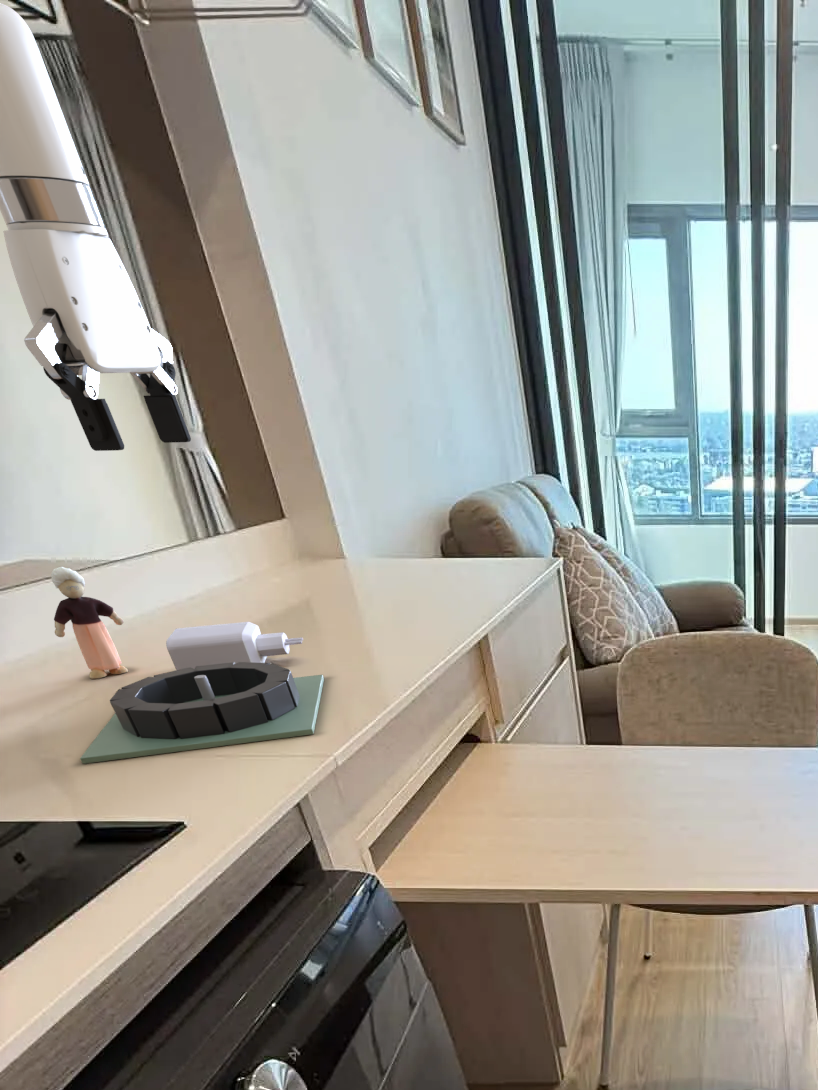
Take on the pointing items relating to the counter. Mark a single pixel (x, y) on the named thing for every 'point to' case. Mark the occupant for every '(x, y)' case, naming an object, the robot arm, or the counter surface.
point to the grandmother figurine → (86, 623)
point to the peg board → (291, 724)
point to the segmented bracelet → (165, 715)
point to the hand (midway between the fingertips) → (144, 445)
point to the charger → (225, 645)
